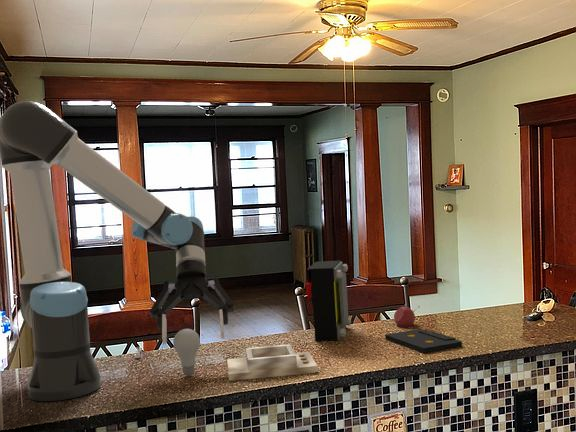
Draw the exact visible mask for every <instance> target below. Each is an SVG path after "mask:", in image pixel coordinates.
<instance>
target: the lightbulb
mask: <svg viewBox="0 0 576 432" xmlns="http://www.w3.org/2000/svg"><path fill="white" fill-rule="evenodd" d="M172 344H173V349H174V351H175V352H176V353H177V355H178V357H179V359H180V365H181V367H182V373H183V375H184V376H186V377H189V378H190V377H191V376H192V375H194V374H195V364H196V357H197V353H198V351H199V348H200V347H201V338H200V335H199V333H197V332H196V331H195V330H194V329H191V328H183V329H181V330H179V331H177V333H176V334H175V336H174V337H173V343H172Z"/></svg>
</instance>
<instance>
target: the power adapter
mask: <svg viewBox="0 0 576 432" xmlns="http://www.w3.org/2000/svg"><path fill="white" fill-rule="evenodd" d="M135 352H136V353H134V354H133V358H134V357H135V358H138V359H143V349H142V347H141V346H138V347H136V351H135ZM135 358H134V359H135Z"/></svg>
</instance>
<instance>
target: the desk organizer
mask: <svg viewBox="0 0 576 432" xmlns="http://www.w3.org/2000/svg"><path fill="white" fill-rule="evenodd" d="M226 361H227V372H228V373H227V374H228V382H232V381H233V382H234V381H241V380H243V381H244V380H251V379H253V380H254V379H261V378H262V379H263V378H273V377H275V378H276V377H283V376H285V377H286V376H294V375H295V376H296V375H305V374H316V373H315V372H318V373H319V371H318V370H319V367H318V365H317V363H316V361H315V359H314V357H313V356H312V355H311V353H310V351H302V352H295V350H294V348H293V347H292V344H279V345H267V346H257V347H254V346H253V347H246V348H245V357H237V358H234V357H233V358H227V360H226Z"/></svg>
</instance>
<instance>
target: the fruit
mask: <svg viewBox="0 0 576 432" xmlns="http://www.w3.org/2000/svg"><path fill="white" fill-rule="evenodd" d="M418 308H420V306H419V305H418ZM414 312H415V310H412V309H411V308H410V307H407V306H400V307H398V308H397V309H396V310H395V312H394V314H393V319H394V322H395V324H396V325H397V326H398V327H401V328H404V327H405V328H407V327H412V326H413V325H414V323H415V320H416V316H415V313H414Z"/></svg>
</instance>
